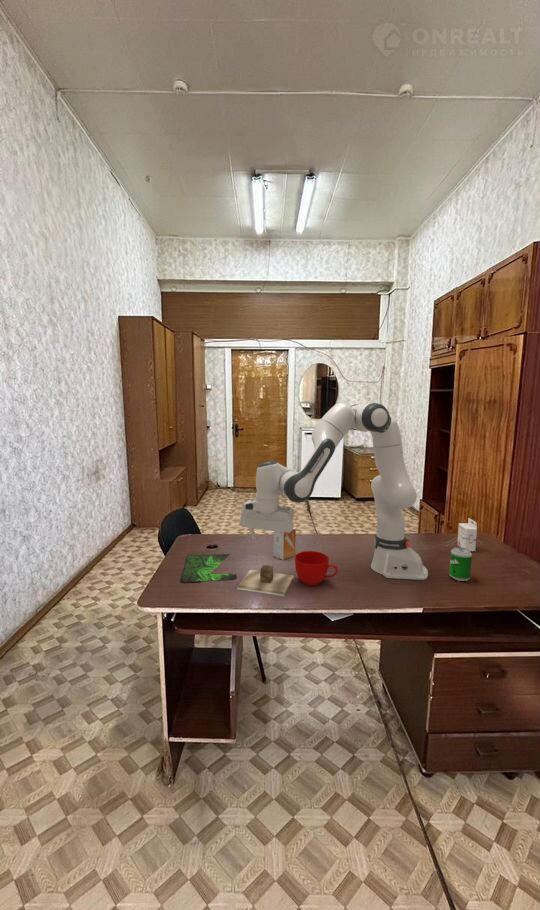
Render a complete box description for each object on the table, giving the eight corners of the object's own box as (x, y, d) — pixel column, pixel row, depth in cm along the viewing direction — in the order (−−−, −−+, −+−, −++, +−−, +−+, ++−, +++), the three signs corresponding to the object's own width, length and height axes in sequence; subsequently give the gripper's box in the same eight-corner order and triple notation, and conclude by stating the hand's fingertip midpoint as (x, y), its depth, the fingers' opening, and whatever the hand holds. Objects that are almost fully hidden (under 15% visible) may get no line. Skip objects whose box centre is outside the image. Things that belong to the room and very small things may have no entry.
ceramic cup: (330, 596, 136) (331, 569, 135) (288, 584, 145) (289, 559, 143) (342, 581, 148) (343, 557, 146) (302, 572, 156) (303, 548, 154)
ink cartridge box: (456, 546, 186) (458, 517, 184) (466, 546, 186) (468, 517, 184) (464, 552, 178) (467, 522, 176) (475, 553, 178) (478, 522, 176)
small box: (283, 560, 167) (283, 532, 165) (273, 556, 172) (273, 528, 170) (295, 555, 173) (296, 528, 171) (285, 551, 177) (286, 524, 175)
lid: (293, 577, 149) (293, 563, 149) (285, 594, 136) (285, 578, 135) (250, 571, 154) (250, 557, 154) (238, 587, 141) (238, 572, 140)
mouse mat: (186, 556, 172) (186, 554, 172) (235, 554, 174) (235, 552, 174) (179, 584, 145) (179, 581, 145) (237, 581, 147) (237, 579, 147)
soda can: (468, 576, 153) (470, 547, 152) (471, 584, 146) (473, 554, 145) (447, 573, 156) (449, 545, 154) (450, 581, 149) (452, 551, 147)
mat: (294, 577, 150) (294, 576, 150) (284, 597, 135) (284, 596, 135) (251, 571, 155) (251, 570, 155) (237, 589, 140) (237, 588, 140)
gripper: (296, 505, 141) (295, 540, 143) (244, 500, 147) (244, 534, 149) (292, 509, 135) (291, 546, 137) (238, 504, 141) (238, 540, 143)
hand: (266, 540), depth 143 cm, fingers open, 8 cm apart
